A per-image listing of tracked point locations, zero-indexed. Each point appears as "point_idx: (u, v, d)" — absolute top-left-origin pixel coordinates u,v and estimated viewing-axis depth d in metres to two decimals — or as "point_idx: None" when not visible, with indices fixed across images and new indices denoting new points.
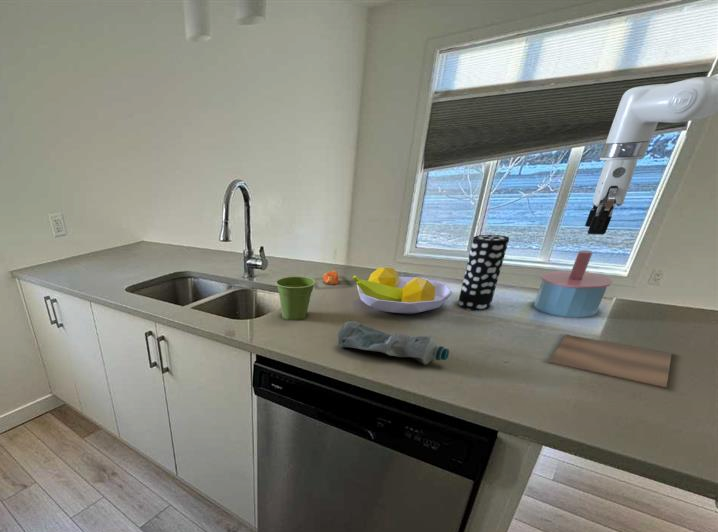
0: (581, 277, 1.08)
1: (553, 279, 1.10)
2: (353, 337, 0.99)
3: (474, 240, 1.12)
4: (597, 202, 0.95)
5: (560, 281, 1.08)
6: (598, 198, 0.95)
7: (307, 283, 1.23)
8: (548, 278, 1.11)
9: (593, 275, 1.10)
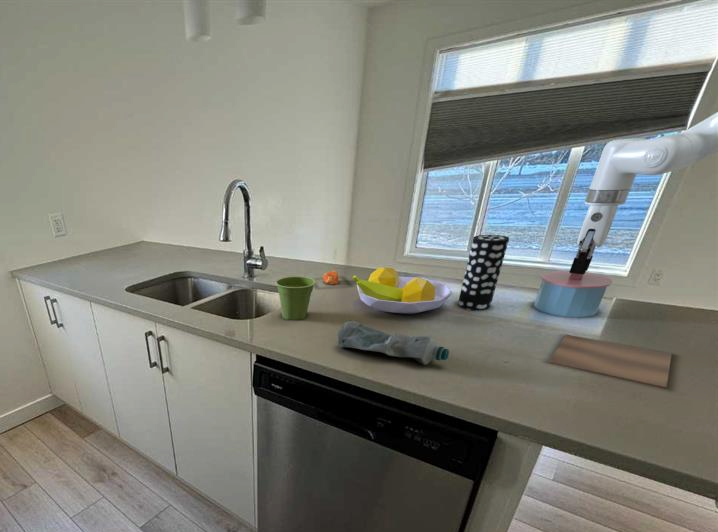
0: (581, 277, 1.08)
1: (553, 279, 1.10)
2: (353, 337, 0.99)
3: (474, 240, 1.12)
4: (577, 242, 1.03)
5: (560, 281, 1.08)
6: (578, 239, 1.02)
7: (307, 283, 1.23)
8: (548, 278, 1.11)
9: (593, 275, 1.10)
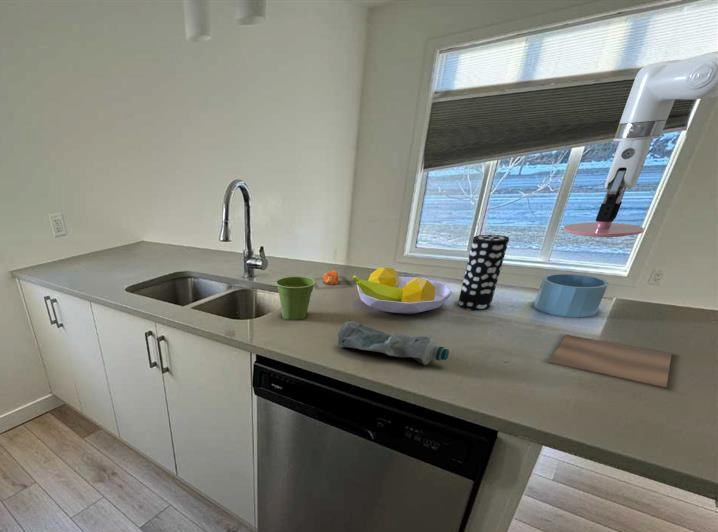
0: (609, 226, 0.98)
1: (577, 229, 1.00)
2: (353, 337, 0.99)
3: (474, 240, 1.12)
4: (605, 185, 0.93)
5: (585, 230, 0.98)
6: (606, 180, 0.92)
7: (307, 283, 1.23)
8: (571, 229, 1.01)
9: (621, 225, 1.00)
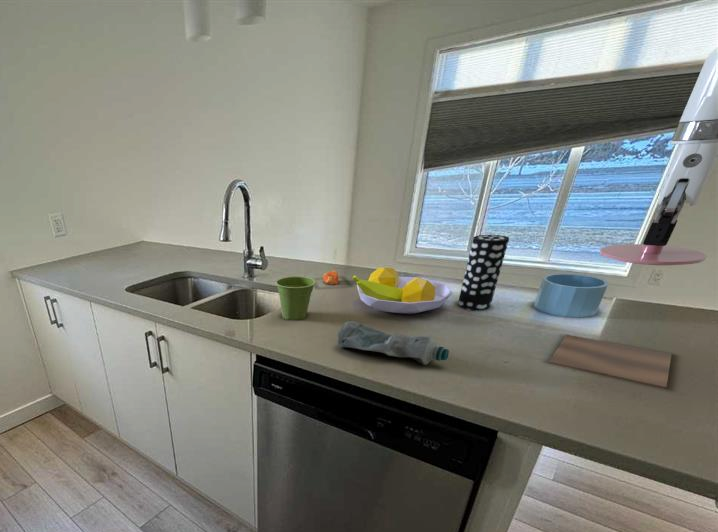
0: (659, 250, 0.78)
1: (619, 254, 0.80)
2: (353, 337, 0.99)
3: (474, 240, 1.12)
4: (660, 200, 0.73)
5: (630, 256, 0.78)
6: (661, 195, 0.72)
7: (307, 283, 1.23)
8: (611, 253, 0.81)
9: (674, 248, 0.80)
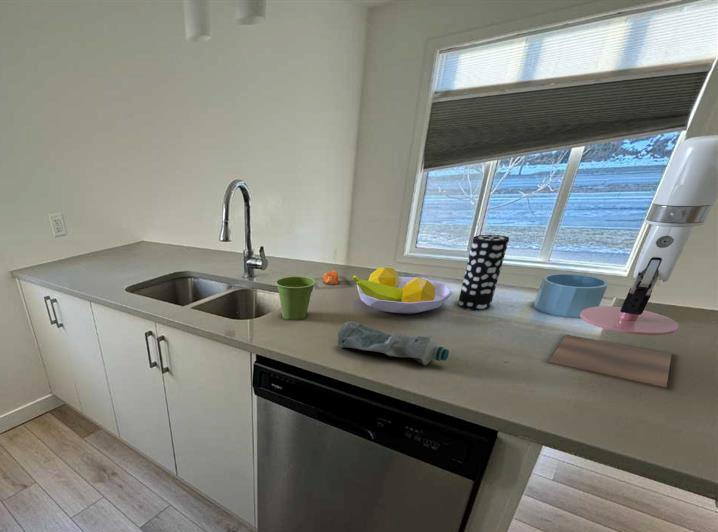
0: (635, 318, 0.82)
1: (598, 319, 0.84)
2: (353, 337, 0.99)
3: (474, 240, 1.12)
4: (635, 274, 0.77)
5: (608, 323, 0.82)
6: (636, 270, 0.77)
7: (307, 283, 1.23)
8: (591, 317, 0.85)
9: (650, 314, 0.84)
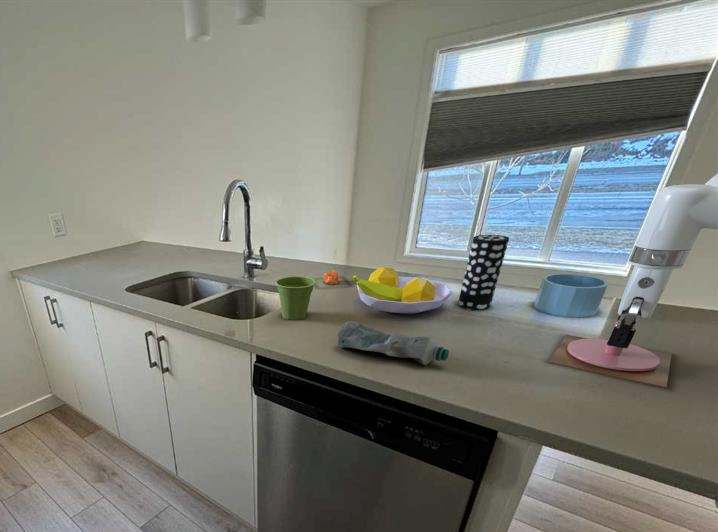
0: (619, 352, 0.86)
1: (583, 353, 0.88)
2: (353, 337, 0.99)
3: (474, 240, 1.12)
4: (619, 312, 0.81)
5: (593, 357, 0.86)
6: (620, 307, 0.80)
7: (307, 283, 1.23)
8: (577, 351, 0.89)
9: (633, 348, 0.88)
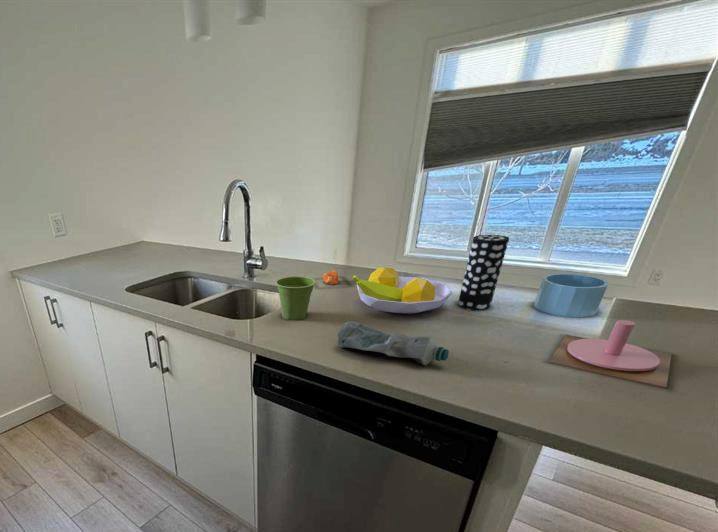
0: (619, 352, 0.86)
1: (583, 353, 0.88)
2: (353, 337, 0.99)
3: (474, 240, 1.12)
4: None
5: (593, 357, 0.86)
6: None
7: (307, 283, 1.23)
8: (577, 351, 0.89)
9: (633, 348, 0.88)
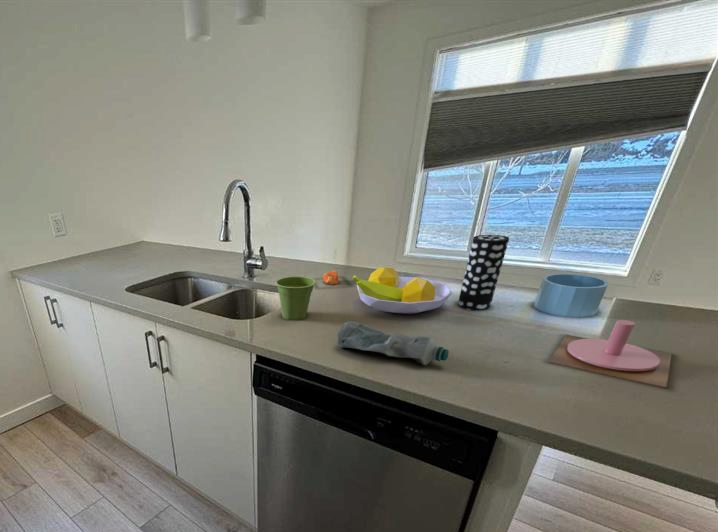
0: (619, 352, 0.86)
1: (583, 353, 0.88)
2: (353, 337, 0.99)
3: (474, 240, 1.12)
4: None
5: (593, 357, 0.86)
6: None
7: (307, 283, 1.23)
8: (577, 351, 0.89)
9: (633, 348, 0.88)
